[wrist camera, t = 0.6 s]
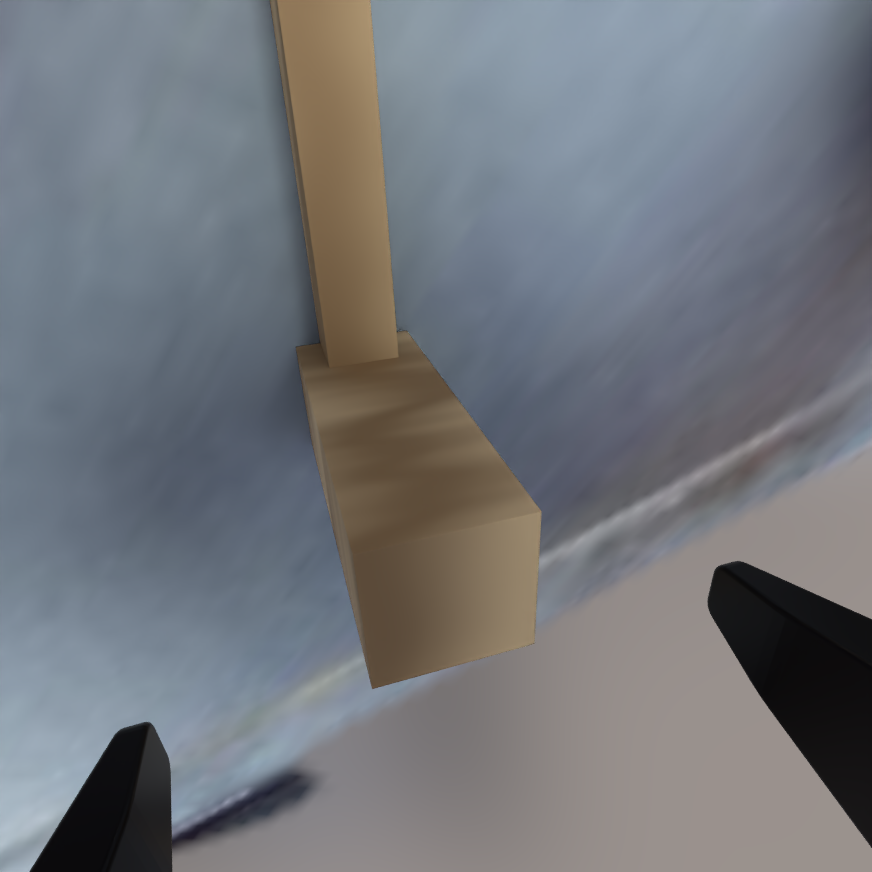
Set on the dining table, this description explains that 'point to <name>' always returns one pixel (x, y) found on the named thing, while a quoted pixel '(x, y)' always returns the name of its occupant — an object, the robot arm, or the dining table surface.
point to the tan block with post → (391, 391)
